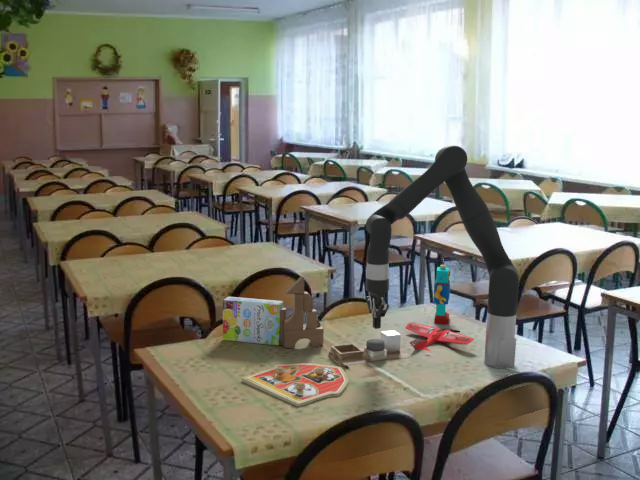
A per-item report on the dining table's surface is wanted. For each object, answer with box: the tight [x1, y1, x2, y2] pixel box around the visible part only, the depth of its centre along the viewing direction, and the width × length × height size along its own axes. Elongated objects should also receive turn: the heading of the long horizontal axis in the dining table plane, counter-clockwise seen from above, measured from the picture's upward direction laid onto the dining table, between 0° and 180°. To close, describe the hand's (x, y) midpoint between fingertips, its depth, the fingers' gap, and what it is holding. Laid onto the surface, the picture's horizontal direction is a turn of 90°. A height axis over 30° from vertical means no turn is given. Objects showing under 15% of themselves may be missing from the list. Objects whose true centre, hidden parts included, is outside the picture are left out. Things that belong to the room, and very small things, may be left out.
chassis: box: [328, 342, 413, 370], centre depth 250 cm, size 14×24×4 cm, turn 111°
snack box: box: [222, 296, 284, 346], centre depth 264 cm, size 21×6×15 cm, turn 75°
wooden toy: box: [279, 275, 325, 349], centre depth 260 cm, size 16×7×25 cm, turn 102°
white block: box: [380, 329, 402, 353], centre depth 254 cm, size 5×5×6 cm
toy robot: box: [433, 258, 451, 325], centre depth 291 cm, size 12×6×25 cm, turn 168°
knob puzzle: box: [241, 362, 349, 407], centre depth 228 cm, size 29×30×4 cm
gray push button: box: [365, 338, 385, 351], centre depth 247 cm, size 6×6×5 cm
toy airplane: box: [405, 322, 475, 352], centre depth 263 cm, size 27×27×5 cm
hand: (376, 327), depth 245 cm, fingers closed
